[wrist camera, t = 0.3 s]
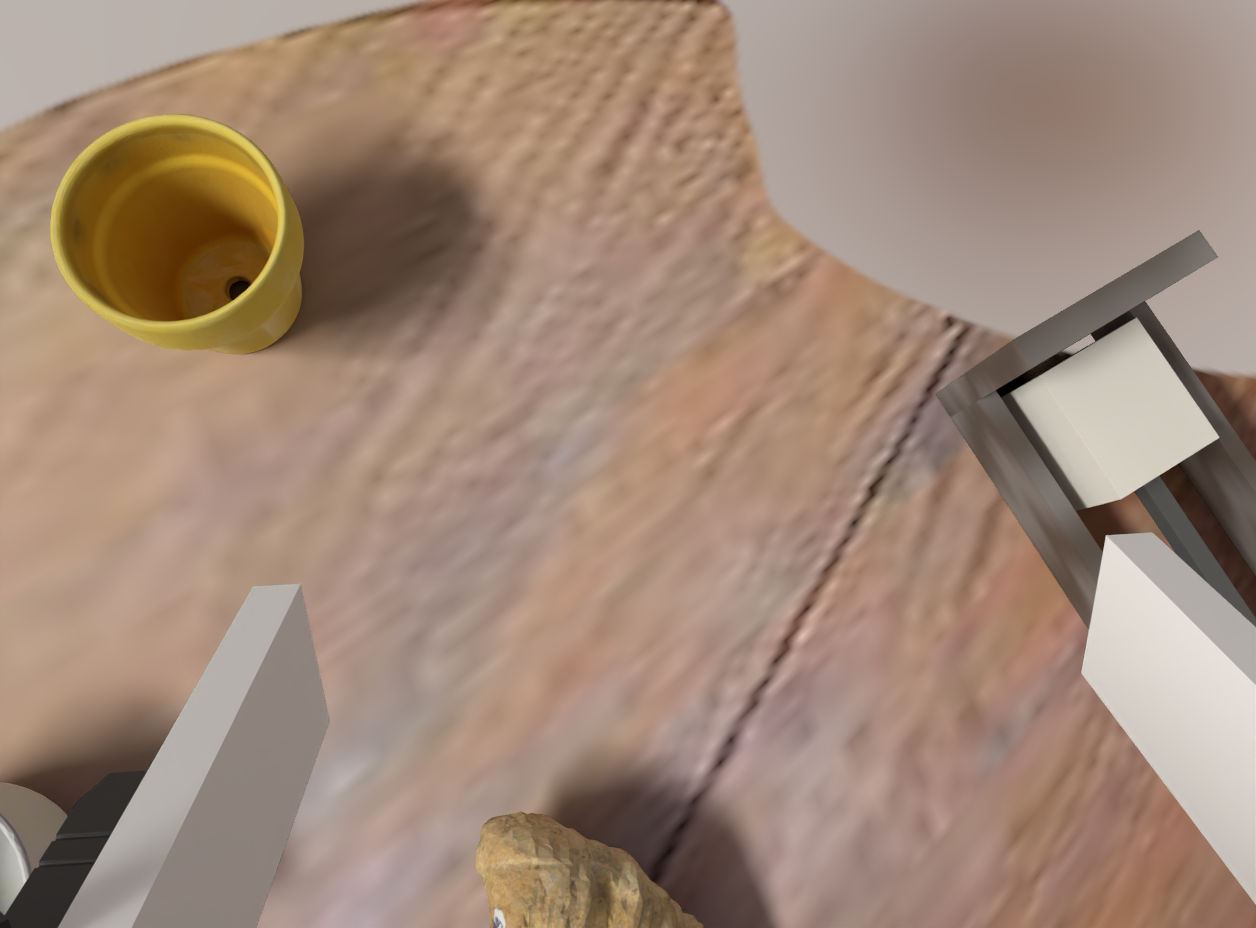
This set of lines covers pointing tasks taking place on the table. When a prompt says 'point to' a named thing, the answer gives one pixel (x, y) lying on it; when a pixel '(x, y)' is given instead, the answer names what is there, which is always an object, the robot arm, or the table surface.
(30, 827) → the teacup
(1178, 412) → the push rod with block
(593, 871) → the seashell
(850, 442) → the table surface
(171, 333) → the plant pot
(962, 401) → the shelf lane
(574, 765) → the table surface
